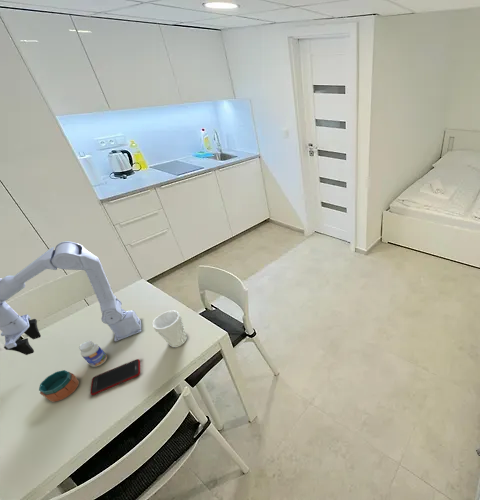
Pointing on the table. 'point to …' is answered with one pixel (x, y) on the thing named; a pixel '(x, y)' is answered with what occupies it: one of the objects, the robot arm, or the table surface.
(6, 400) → the table surface
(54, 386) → the orange and teal bowl
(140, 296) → the table surface
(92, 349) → the pill bottle
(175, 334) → the foam cup
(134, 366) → the cell phone
